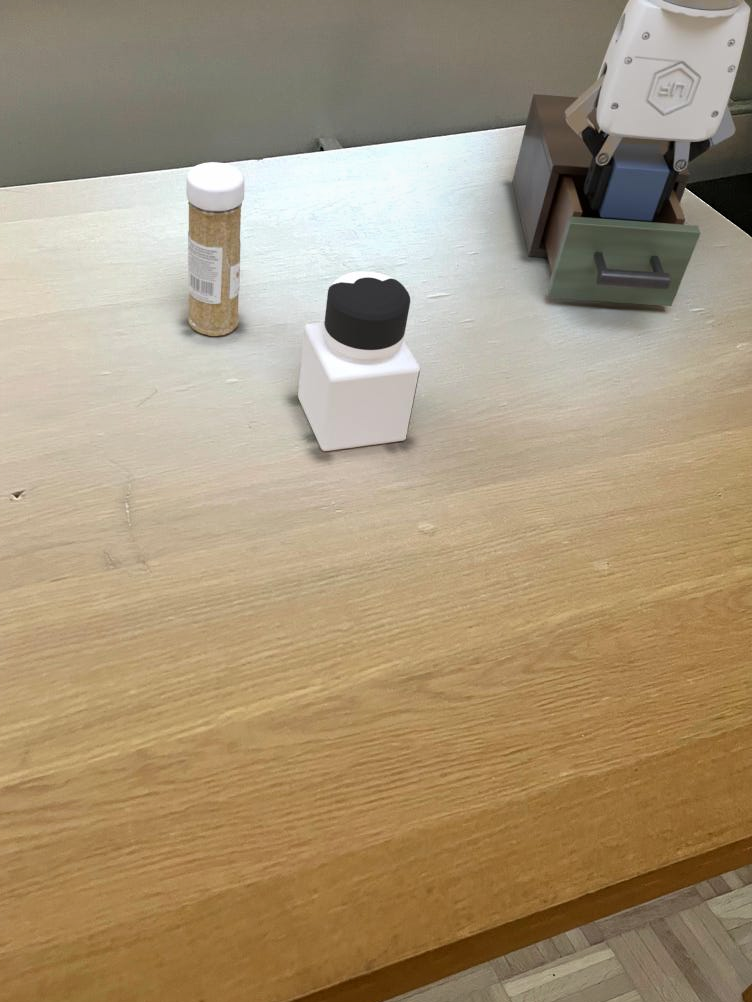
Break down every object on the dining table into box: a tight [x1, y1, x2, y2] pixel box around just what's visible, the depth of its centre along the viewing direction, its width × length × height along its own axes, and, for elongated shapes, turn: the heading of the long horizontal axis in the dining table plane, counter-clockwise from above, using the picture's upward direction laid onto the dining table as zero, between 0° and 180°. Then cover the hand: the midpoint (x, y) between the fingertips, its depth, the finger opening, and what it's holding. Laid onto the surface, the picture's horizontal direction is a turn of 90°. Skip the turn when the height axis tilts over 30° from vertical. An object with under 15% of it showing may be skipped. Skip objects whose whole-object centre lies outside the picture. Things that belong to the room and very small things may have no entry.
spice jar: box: [185, 161, 245, 337], centre depth 87 cm, size 5×5×14 cm
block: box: [598, 143, 669, 221], centre depth 93 cm, size 5×5×5 cm
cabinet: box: [511, 93, 691, 259], centre depth 104 cm, size 15×13×9 cm
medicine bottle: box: [297, 270, 421, 452], centre depth 81 cm, size 7×7×12 cm
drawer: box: [543, 174, 701, 307], centre depth 97 cm, size 18×11×7 cm, turn 178°
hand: (622, 202), depth 95 cm, fingers closed on block, 4 cm apart
